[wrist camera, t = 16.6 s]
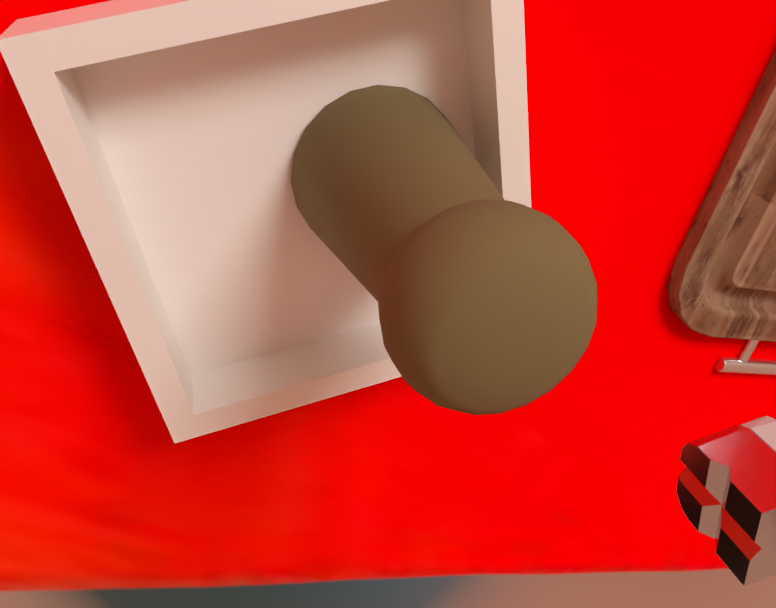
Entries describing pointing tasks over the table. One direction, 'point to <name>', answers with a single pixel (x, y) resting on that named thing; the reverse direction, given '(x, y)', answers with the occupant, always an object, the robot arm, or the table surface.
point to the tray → (246, 174)
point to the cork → (444, 253)
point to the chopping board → (736, 242)
